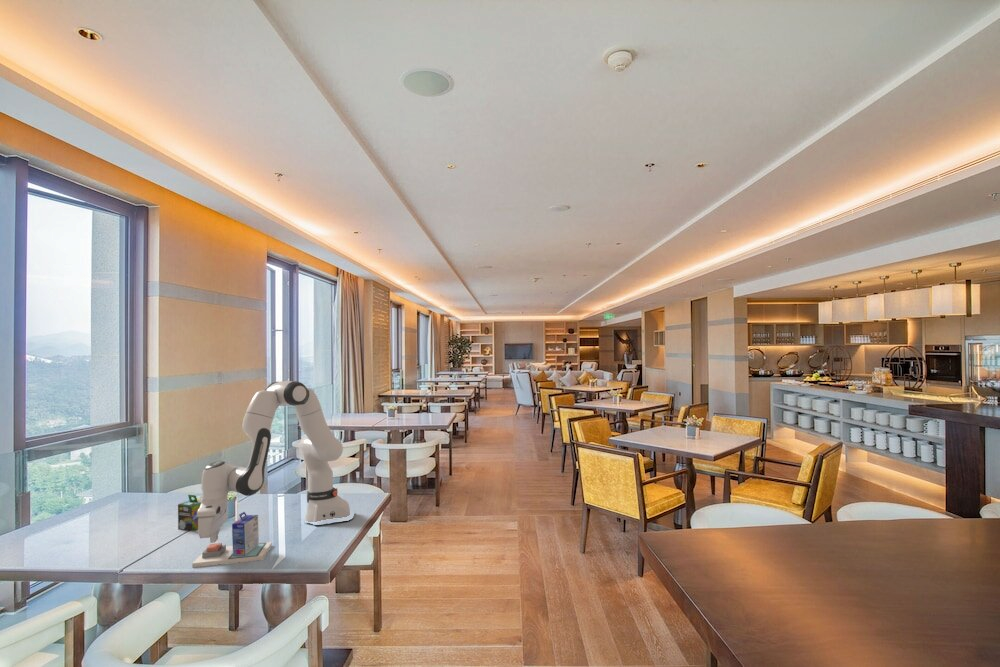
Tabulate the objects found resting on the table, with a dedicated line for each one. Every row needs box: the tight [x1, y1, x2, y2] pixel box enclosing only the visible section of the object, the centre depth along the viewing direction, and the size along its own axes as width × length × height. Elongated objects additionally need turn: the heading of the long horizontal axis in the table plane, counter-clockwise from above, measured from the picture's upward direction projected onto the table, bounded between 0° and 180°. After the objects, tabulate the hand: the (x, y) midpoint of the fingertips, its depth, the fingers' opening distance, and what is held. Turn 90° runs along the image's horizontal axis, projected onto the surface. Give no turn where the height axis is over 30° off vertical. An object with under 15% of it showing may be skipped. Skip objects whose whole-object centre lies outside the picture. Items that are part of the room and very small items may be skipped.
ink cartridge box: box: [231, 511, 260, 555], centre depth 186 cm, size 10×6×14 cm, turn 178°
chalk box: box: [177, 494, 201, 532], centre depth 218 cm, size 9×9×15 cm
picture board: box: [191, 541, 273, 568], centre depth 185 cm, size 24×14×4 cm, turn 103°
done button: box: [206, 542, 223, 552], centre depth 183 cm, size 4×4×2 cm
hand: (214, 541), depth 183 cm, fingers closed
